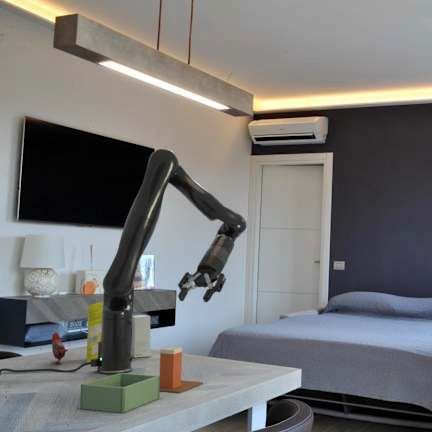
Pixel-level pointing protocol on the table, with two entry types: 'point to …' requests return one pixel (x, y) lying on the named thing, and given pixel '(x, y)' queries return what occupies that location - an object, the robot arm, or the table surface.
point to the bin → (119, 392)
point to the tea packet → (170, 367)
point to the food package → (94, 330)
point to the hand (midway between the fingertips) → (192, 300)
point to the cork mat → (182, 386)
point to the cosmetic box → (141, 336)
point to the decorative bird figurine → (58, 347)
